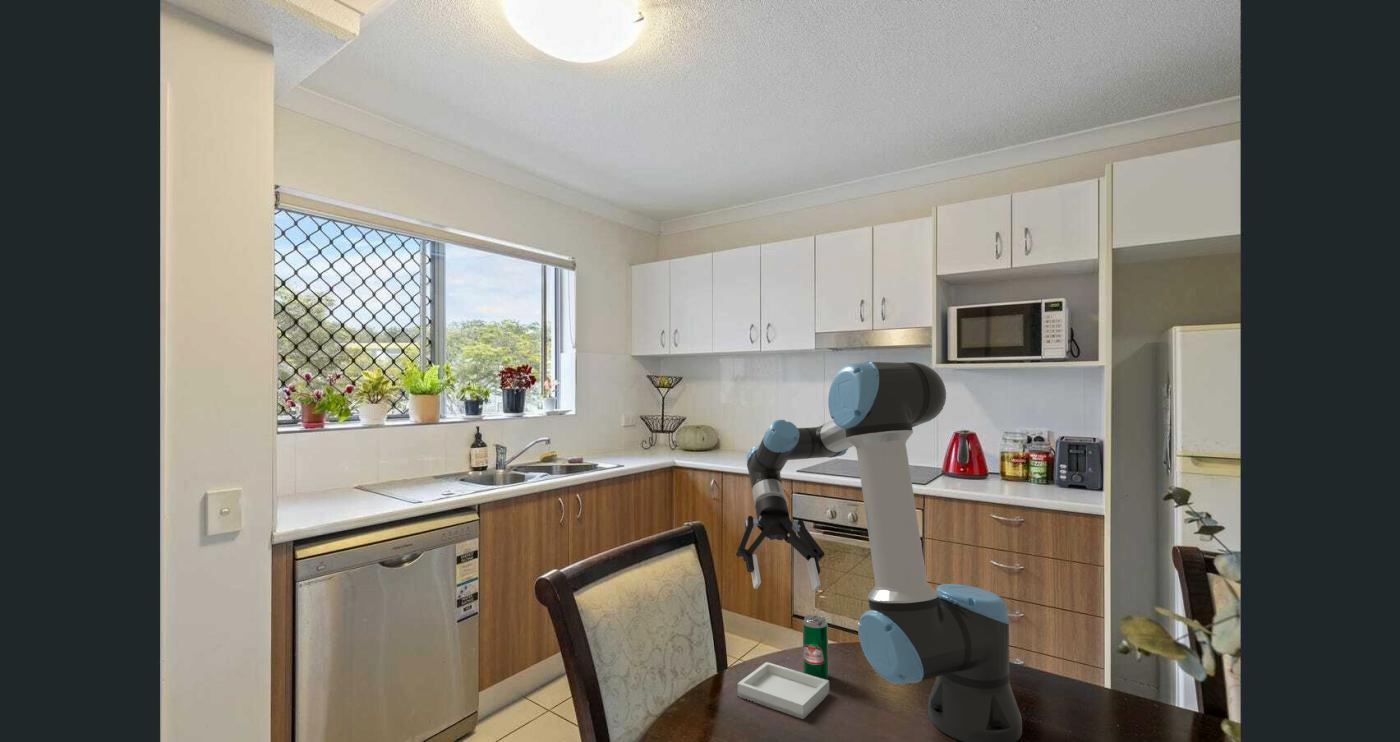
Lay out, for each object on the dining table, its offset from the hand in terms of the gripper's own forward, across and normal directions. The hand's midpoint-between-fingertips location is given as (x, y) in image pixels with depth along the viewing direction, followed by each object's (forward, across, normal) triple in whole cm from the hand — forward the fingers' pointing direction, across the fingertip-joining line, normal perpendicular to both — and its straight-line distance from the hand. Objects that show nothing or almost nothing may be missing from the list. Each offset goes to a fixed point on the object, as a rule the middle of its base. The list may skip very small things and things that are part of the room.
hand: (787, 587), depth 130 cm
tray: (+20, +3, -5) cm, 21 cm away
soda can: (+16, -6, -8) cm, 18 cm away
